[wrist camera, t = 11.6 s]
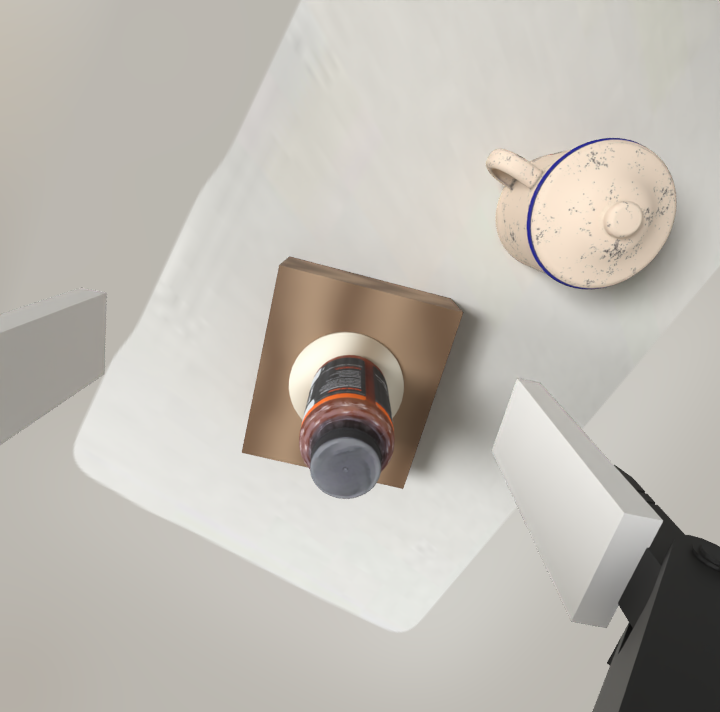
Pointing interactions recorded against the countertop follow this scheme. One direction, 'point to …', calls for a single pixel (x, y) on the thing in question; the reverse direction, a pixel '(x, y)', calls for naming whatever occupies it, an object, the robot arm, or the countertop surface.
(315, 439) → the supplement bottle
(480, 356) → the countertop surface
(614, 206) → the cream ceramic oval pot
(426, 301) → the walnut stand
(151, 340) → the countertop surface
